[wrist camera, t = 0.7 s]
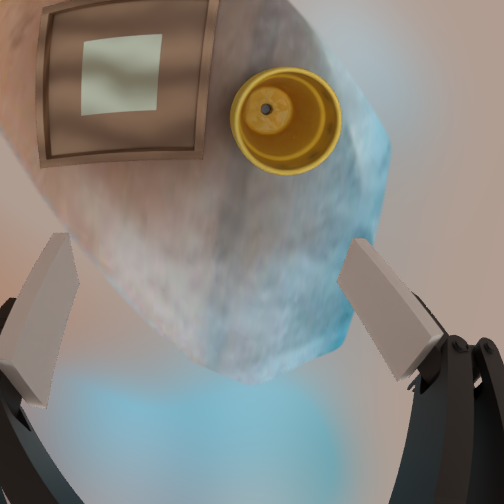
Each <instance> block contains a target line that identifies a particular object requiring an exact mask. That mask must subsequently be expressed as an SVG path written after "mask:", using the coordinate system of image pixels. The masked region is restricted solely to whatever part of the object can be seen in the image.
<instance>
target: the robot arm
mask: <svg viewBox="0 0 504 504" xmlns="http://www.w3.org/2000/svg"><path fill="white" fill-rule="evenodd" d="M337 283H338V285H339V286H340V288H341V290H342V291H343V293H344V294H345V296H346V297H347V299H348V301H349V302H350V304H351V305H352V307H353V308H354V310H355V312H356V313H357V315H358V316H359V318H360V320H361V321H362V323H363V325H364V326H365V328H366V330H367V331H368V333H369V334H370V336H371V338H372V340H373V341H374V343H375V345H376V346H377V348H378V350H379V351H380V353H381V354H382V356H383V358H384V360H385V362H386V363H387V365H388V367H389V368H390V370H391V372H392V374H393V375H394V377H395V379H396V381H400V380H403V379H406V378H409V377H410V376H411V375H412V374H413V372H414V371H415V370H416V369H418V371H419V372H420V374H419V375H418V376H417V377H416V378H415V379H414V380H413V381H412V383H411V384H410V385H409V386H408V389H407V390H410V389H411V388H412V386H413V385H415V388H414V389H413V390H412V391H413V392H414V398H413V405H412V411H411V417H410V423H409V428H408V433H407V438H406V443H405V447H404V451H403V455H402V460H401V464H400V467H399V471H398V475H397V478H396V482H395V485H394V488H393V492H392V495H391V498H390V501H389V504H504V364H503V361H502V359H501V356H500V353H499V351H498V349H497V347H496V345H495V344H494V342H493V341H492V340H490V339H488V338H481V339H480V340H479V341H478V343H477V344H476V345H468V344H467V342H466V341H465V340H464V339H462V338H461V337H459V336H457V335H450V336H449V335H448V333H447V332H446V331H445V330H444V328H443V327H442V326H441V324H440V323H439V322H438V321H437V319H436V318H435V316H434V315H433V314H431V311H430V310H429V309H428V308H427V307H426V305H425V304H424V303H423V301H422V300H421V299H420V298H419V297H418V296H417V295H415V294H414V293H413V292H412V291H410V290H409V288H408V287H407V286H406V285H405V284H404V282H403V281H402V280H401V279H400V278H399V277H398V275H397V274H396V273H395V272H394V271H393V270H392V268H391V267H390V266H389V265H388V264H387V263H386V262H385V260H384V259H383V258H382V257H381V256H380V255H379V254H378V252H377V251H376V250H375V249H374V248H373V247H372V246H371V245H370V244H369V242H368V241H367V240H366V239H362V238H353V239H352V242H351V245H350V248H349V250H348V253H347V256H346V259H345V261H344V264H343V266H342V269H341V272H340V274H339V277H338V279H337ZM78 286H79V279H78V275H77V271H76V267H75V262H74V257H73V253H72V248H71V243H70V237H69V233H53V235H52V236H51V238H50V240H49V241H48V243H47V244H46V246H45V248H44V249H43V251H42V253H41V255H40V256H39V258H38V260H37V261H36V263H35V265H34V267H33V268H32V270H31V272H30V274H29V276H28V278H27V279H26V281H25V283H24V285H23V287H22V289H21V291H20V293H19V295H18V297H17V298H9V299H8V300H7V301H6V302H5V303H4V304H3V305H2V306H1V308H0V504H7V502H6V499H5V497H4V494H3V491H4V493H5V495H6V496H7V498H8V500H9V501H10V503H11V504H84V503H83V501H82V500H81V499H80V498H79V496H78V495H77V494H76V493H75V491H74V490H73V489H72V487H71V486H70V485H69V483H68V482H67V481H66V479H65V478H64V477H63V475H62V474H61V472H60V471H59V469H58V468H57V466H56V465H55V464H54V462H53V460H52V459H51V458H50V456H49V454H48V453H47V451H46V449H45V448H44V446H43V445H42V443H41V441H40V440H39V438H38V436H37V434H36V433H35V431H34V429H33V427H32V425H31V423H30V422H29V420H28V418H27V416H26V414H25V412H24V410H23V409H22V407H21V406H20V404H21V399H22V398H23V399H24V400H25V401H26V402H27V404H28V405H30V406H34V407H40V408H45V409H47V404H48V399H49V393H50V388H51V383H52V378H53V374H54V369H55V364H56V360H57V356H58V352H59V348H60V344H61V341H62V337H63V334H64V330H65V327H66V323H67V320H68V316H69V313H70V310H71V307H72V304H73V301H74V298H75V295H76V292H77V289H78ZM480 377H481V378H482V383H481V384H480V385H479V386H478V387H477V388H475V387H474V383H475V382H476V381H477V379H479V378H480ZM1 487H2V488H1ZM2 489H3V491H2Z"/></svg>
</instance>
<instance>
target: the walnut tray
mask: <svg viewBox="0 0 504 504" xmlns="http://www.w3.org/2000/svg"><path fill="white" fill-rule="evenodd" d="M218 4H219V0H71V1H66V2H62V3H59V4H55V5H51V6H48V7H44V8H43V9H42V15H41V22H40V29H39V38H38V48H37V62H36V124H37V139H38V150H39V159H40V167H41V168H49V167H57V166H66V165H76V164H88V163H100V162H115V161H135V160H171V159H203V149H204V134H205V121H206V109H207V97H208V87H209V77H210V67H211V58H212V49H213V41H214V33H215V25H216V18H217V11H218Z"/></svg>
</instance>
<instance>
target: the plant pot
mask: <svg viewBox="0 0 504 504" xmlns="http://www.w3.org/2000/svg"><path fill="white" fill-rule="evenodd" d="M263 104H268V105H270V107H271V110H270V112H269V113H268V114H263V113H262V111H261V107H262V105H263ZM230 125H231V130H232V134H233V136H234V139H235V141H236V143H237V145H238V147H239V148H240V150H241V151H242V153H243V154H244V155H245V156H246V158H247V159H248V160H249V161H250V162H251V163H253V164H254V165H255V166H257V167H258V168H260V169H262V170H264V171H266V172H269V173H272V174H276V175H296V174H301V173H304V172H307V171H309V170H311V169H313V168H315V167H316V166H318V165H319V164H321V163H322V162H323V161H324V160H325V159H326V158H327V157H328V156H329V155H330V154H331V152H332V151H333V149H334V148H335V146H336V144H337V142H338V140H339V137H340V133H341V127H342V112H341V107H340V104H339V101H338V98H337V96H336V94H335V93H334V91H333V89H332V88H331V87H330V86H329V84H328V83H327V82H326V81H325V80H324V79H322V78H321V77H320V76H318V75H317V74H315V73H313V72H311V71H308V70H306V69H302V68H297V67H277V68H272V69H268V70H265V71H262V72H260V73H258V74H256V75H254V76H253V77H251V78H250V79H249V80H247V81H246V82H245V83H244V84H243V85H242V86H241V88H240V89H239V90H238V92H237V94H236V96H235V98H234V100H233V103H232V106H231V111H230Z"/></svg>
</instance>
